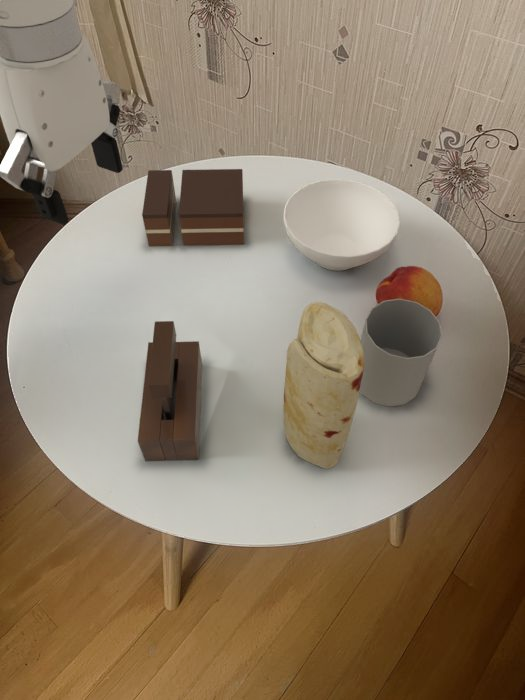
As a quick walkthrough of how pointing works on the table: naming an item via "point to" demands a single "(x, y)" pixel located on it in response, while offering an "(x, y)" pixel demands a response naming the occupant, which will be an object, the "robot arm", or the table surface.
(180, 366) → the knife block
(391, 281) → the fruit
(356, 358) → the food model
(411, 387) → the cup
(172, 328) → the knife
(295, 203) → the bowl
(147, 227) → the cake slice
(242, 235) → the cake
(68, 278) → the table surface
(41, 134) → the robot arm
